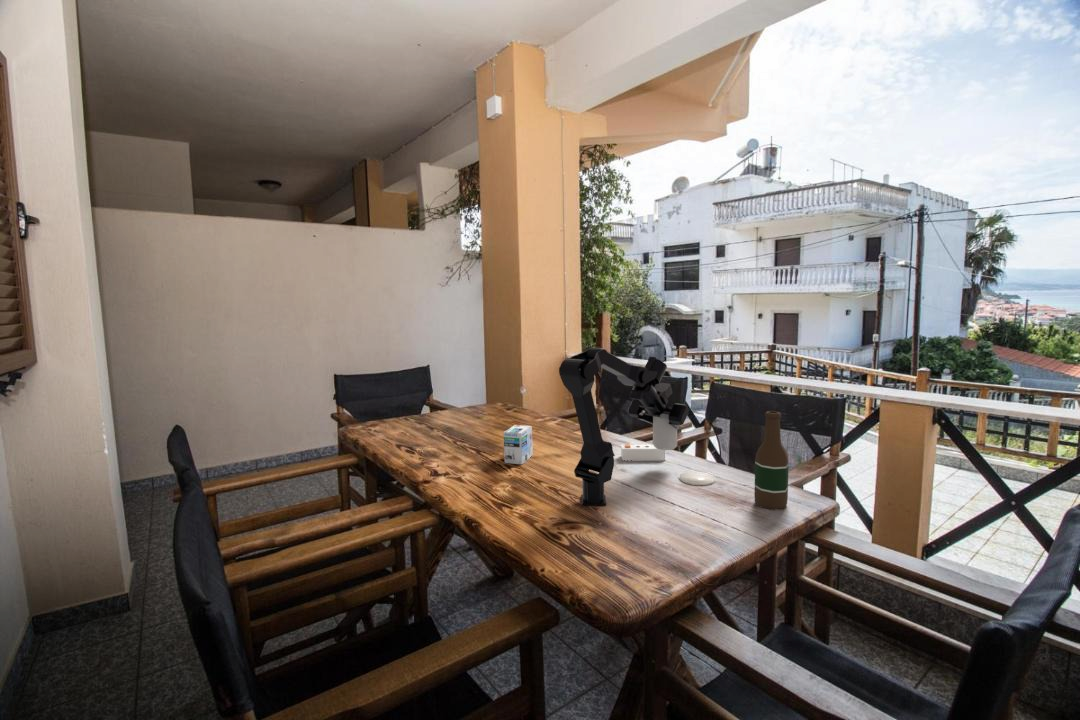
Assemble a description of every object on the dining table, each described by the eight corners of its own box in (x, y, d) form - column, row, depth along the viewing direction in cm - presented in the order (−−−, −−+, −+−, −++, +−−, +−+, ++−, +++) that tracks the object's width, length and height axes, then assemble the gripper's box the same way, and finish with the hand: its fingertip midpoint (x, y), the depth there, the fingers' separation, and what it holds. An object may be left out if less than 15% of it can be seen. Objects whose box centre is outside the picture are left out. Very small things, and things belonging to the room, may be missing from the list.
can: (675, 444, 156) (675, 407, 155) (679, 451, 149) (679, 412, 147) (651, 444, 157) (651, 407, 156) (654, 450, 150) (654, 412, 148)
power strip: (665, 460, 161) (665, 446, 160) (622, 460, 162) (622, 447, 161) (662, 455, 166) (662, 442, 165) (621, 456, 167) (620, 443, 166)
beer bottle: (784, 499, 127) (786, 409, 124) (790, 511, 119) (793, 416, 117) (752, 497, 129) (753, 408, 126) (756, 509, 121) (758, 415, 119)
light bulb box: (522, 465, 160) (521, 433, 159) (503, 463, 163) (502, 432, 161) (533, 455, 171) (532, 425, 169) (515, 454, 173) (514, 424, 172)
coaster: (719, 485, 138) (719, 483, 138) (683, 485, 138) (683, 483, 138) (709, 473, 148) (709, 471, 147) (676, 473, 148) (676, 471, 148)
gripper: (686, 378, 141) (704, 409, 150) (632, 373, 154) (651, 402, 163) (672, 408, 136) (691, 439, 145) (618, 401, 150) (638, 429, 158)
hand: (667, 426), depth 153 cm, fingers closed on can, 7 cm apart
